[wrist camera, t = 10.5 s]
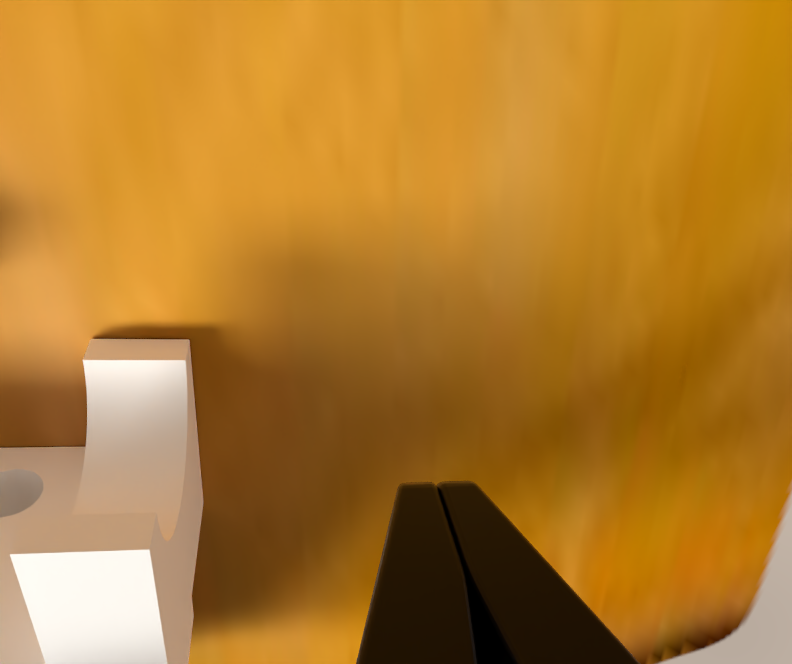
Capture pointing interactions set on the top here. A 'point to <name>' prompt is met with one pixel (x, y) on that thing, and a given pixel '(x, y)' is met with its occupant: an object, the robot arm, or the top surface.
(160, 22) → the top surface
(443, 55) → the top surface
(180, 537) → the bracket
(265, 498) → the top surface
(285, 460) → the top surface
